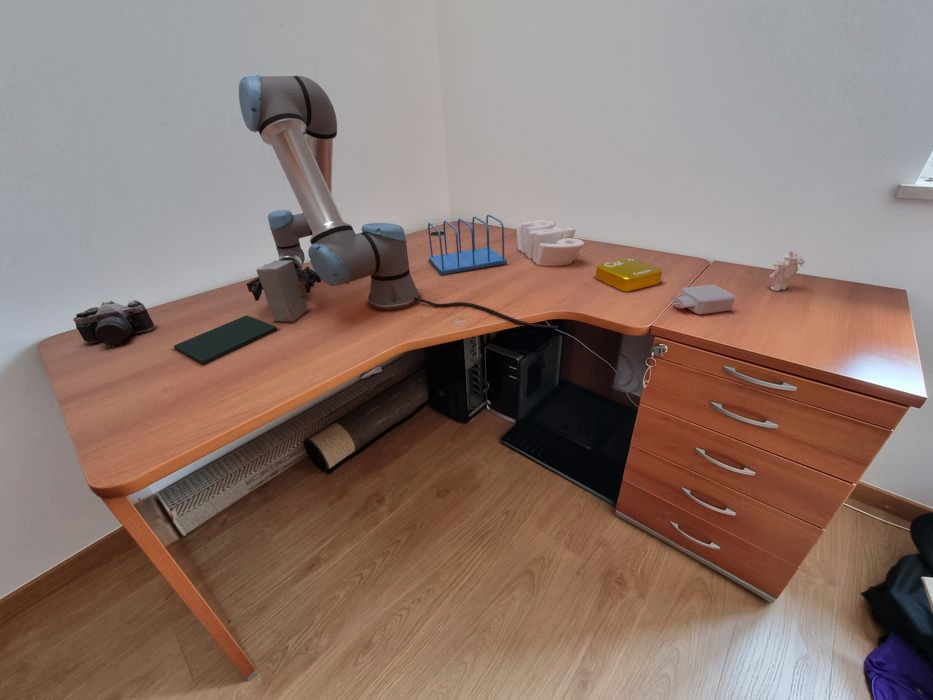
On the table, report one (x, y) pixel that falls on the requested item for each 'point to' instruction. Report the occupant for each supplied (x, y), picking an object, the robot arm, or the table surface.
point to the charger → (704, 299)
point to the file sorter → (466, 252)
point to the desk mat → (224, 339)
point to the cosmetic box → (282, 290)
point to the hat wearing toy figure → (786, 270)
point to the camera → (113, 322)
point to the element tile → (628, 274)
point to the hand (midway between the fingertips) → (281, 292)
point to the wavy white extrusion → (548, 243)
